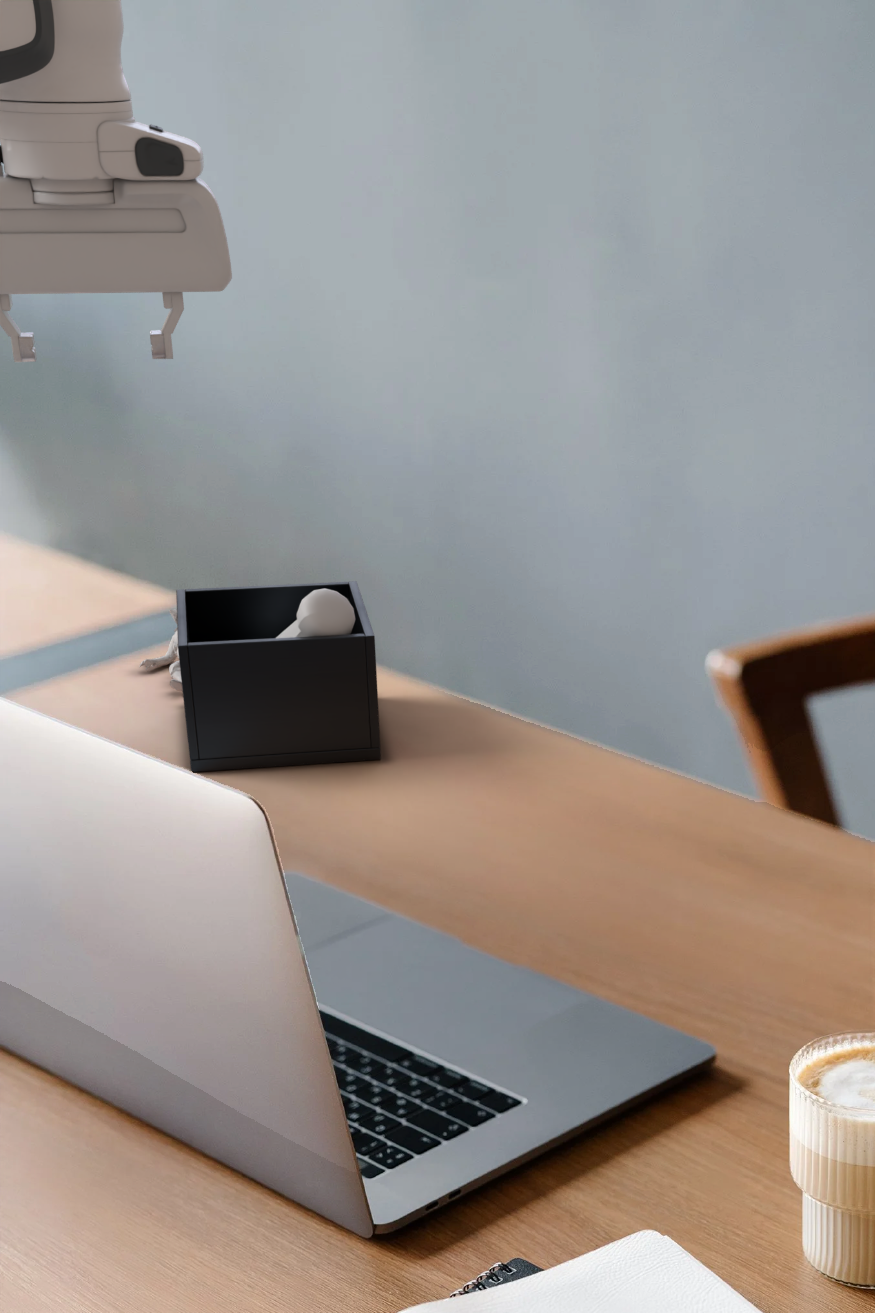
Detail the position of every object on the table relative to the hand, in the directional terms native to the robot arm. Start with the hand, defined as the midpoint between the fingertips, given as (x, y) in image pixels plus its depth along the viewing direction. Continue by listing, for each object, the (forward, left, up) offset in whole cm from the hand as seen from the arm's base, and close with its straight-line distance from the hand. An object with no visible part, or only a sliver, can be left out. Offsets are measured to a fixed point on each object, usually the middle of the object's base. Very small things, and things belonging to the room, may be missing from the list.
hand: (94, 359), depth 129 cm
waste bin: (+11, 0, -29) cm, 31 cm away
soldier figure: (+4, +16, -29) cm, 34 cm away
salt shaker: (+11, +4, -26) cm, 29 cm away
